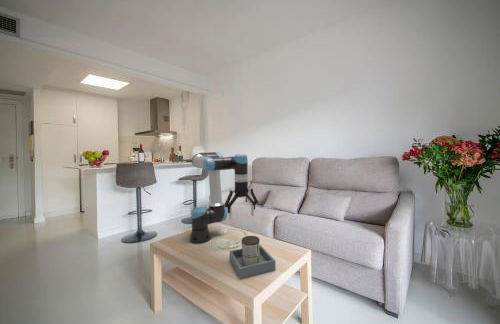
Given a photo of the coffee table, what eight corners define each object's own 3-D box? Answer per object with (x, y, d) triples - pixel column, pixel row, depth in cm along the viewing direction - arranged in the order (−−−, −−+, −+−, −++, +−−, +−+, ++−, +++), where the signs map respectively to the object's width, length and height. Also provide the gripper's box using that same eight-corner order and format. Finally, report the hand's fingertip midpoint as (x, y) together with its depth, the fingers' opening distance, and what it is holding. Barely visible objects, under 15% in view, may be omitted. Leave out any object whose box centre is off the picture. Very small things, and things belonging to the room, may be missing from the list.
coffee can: (240, 260, 125) (239, 237, 124) (256, 257, 129) (255, 234, 128) (245, 269, 116) (244, 244, 115) (262, 265, 119) (262, 241, 118)
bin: (229, 259, 128) (229, 250, 128) (260, 253, 135) (260, 244, 135) (240, 279, 109) (239, 268, 109) (275, 270, 116) (275, 260, 116)
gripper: (221, 184, 114) (222, 222, 116) (263, 180, 123) (263, 215, 125) (218, 181, 121) (219, 217, 123) (258, 178, 130) (258, 212, 132)
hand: (241, 216), depth 124 cm, fingers open, 13 cm apart
